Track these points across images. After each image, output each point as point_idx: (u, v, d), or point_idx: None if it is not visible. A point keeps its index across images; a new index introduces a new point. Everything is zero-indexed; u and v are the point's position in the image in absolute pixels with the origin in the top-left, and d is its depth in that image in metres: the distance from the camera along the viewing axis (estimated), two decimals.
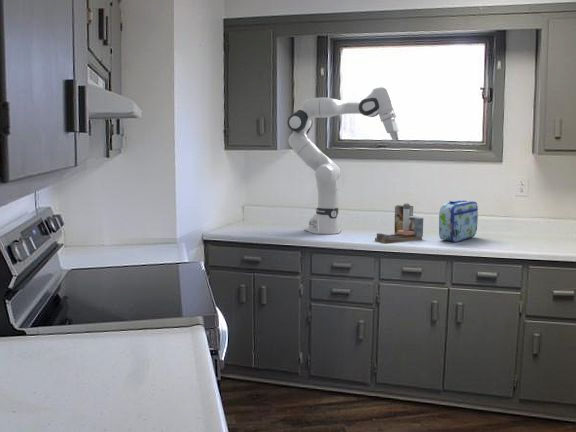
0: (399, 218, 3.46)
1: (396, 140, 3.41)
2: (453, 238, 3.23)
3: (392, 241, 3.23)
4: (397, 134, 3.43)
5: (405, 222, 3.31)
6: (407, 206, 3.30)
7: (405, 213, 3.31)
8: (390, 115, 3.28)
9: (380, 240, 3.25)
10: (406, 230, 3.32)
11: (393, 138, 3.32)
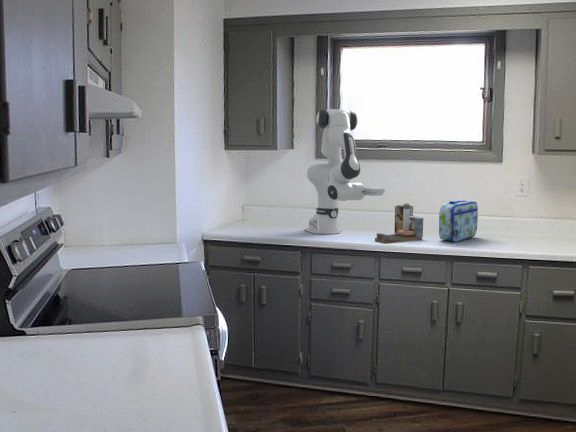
0: (399, 218, 3.46)
1: None
2: (453, 238, 3.23)
3: (392, 241, 3.23)
4: None
5: (405, 222, 3.31)
6: (407, 206, 3.30)
7: (405, 213, 3.31)
8: None
9: (380, 240, 3.25)
10: (406, 230, 3.32)
11: None
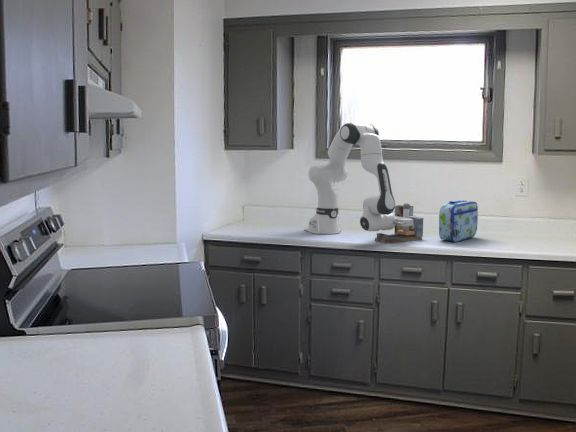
0: None
1: None
2: (453, 238, 3.23)
3: (392, 241, 3.23)
4: None
5: None
6: (407, 206, 3.30)
7: (405, 213, 3.31)
8: None
9: (380, 240, 3.25)
10: (406, 230, 3.32)
11: None
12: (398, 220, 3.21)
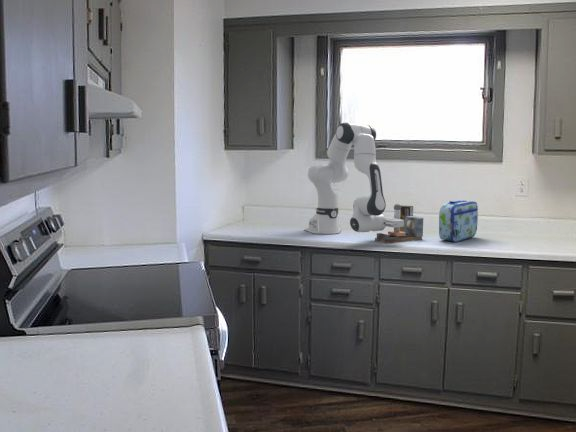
0: None
1: None
2: (453, 238, 3.23)
3: (392, 241, 3.23)
4: None
5: None
6: (398, 207, 3.27)
7: (396, 214, 3.27)
8: None
9: (380, 240, 3.25)
10: (397, 231, 3.28)
11: None
12: (388, 221, 3.18)
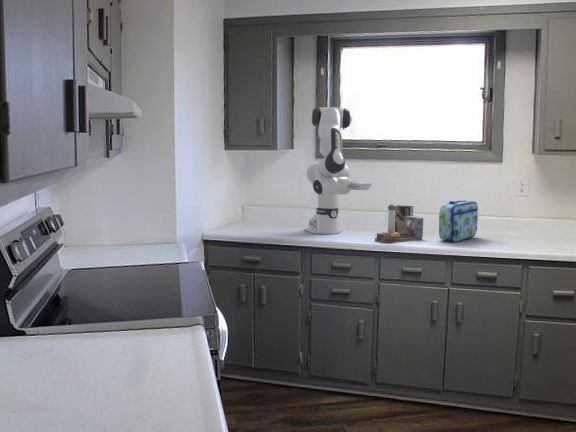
0: (399, 218, 3.46)
1: (369, 184, 3.16)
2: (453, 238, 3.23)
3: (392, 241, 3.23)
4: None
5: (390, 223, 3.26)
6: (392, 207, 3.24)
7: (390, 214, 3.25)
8: None
9: (380, 240, 3.25)
10: (391, 232, 3.26)
11: None
12: (353, 184, 3.08)
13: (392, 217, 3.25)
